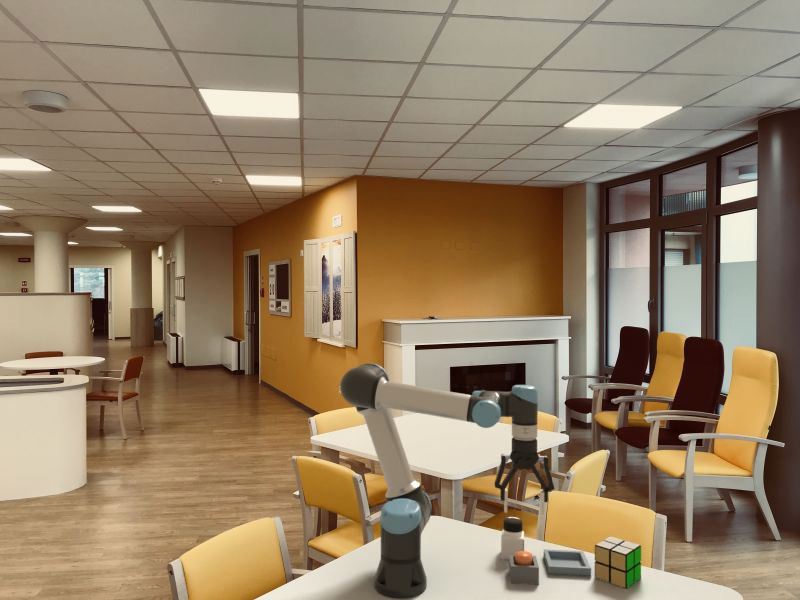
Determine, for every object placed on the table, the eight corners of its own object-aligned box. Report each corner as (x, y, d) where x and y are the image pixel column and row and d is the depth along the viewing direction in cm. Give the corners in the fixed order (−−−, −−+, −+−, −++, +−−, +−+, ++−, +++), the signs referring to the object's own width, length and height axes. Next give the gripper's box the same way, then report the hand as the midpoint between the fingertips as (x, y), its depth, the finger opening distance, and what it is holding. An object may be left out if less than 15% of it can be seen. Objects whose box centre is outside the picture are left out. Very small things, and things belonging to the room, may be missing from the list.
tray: (548, 574, 184) (548, 566, 184) (543, 557, 197) (543, 549, 197) (591, 576, 183) (591, 568, 183) (583, 558, 195) (583, 551, 195)
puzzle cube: (609, 567, 190) (610, 535, 190) (641, 578, 182) (641, 545, 182) (593, 578, 183) (594, 544, 182) (626, 589, 175) (626, 554, 175)
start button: (515, 565, 180) (515, 557, 180) (514, 558, 185) (514, 550, 185) (533, 566, 180) (533, 558, 180) (531, 559, 185) (531, 551, 185)
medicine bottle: (524, 561, 193) (524, 523, 193) (501, 559, 195) (501, 522, 195) (524, 552, 200) (524, 516, 200) (501, 550, 202) (502, 514, 202)
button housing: (511, 583, 179) (511, 566, 179) (509, 570, 187) (509, 554, 187) (538, 584, 178) (538, 567, 178) (535, 572, 186) (535, 555, 186)
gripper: (486, 439, 179) (486, 514, 180) (565, 441, 177) (564, 518, 177) (485, 433, 187) (485, 506, 187) (561, 435, 185) (560, 509, 185)
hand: (523, 512), depth 182 cm, fingers open, 10 cm apart
